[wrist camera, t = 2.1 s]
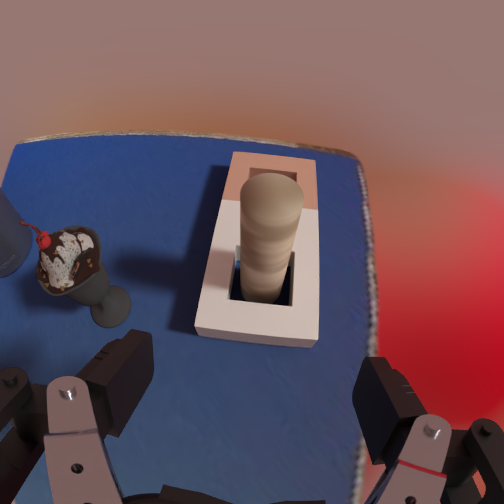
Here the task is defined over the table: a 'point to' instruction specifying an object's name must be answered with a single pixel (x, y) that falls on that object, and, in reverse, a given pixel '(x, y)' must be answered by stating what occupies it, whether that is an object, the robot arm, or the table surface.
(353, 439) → the table surface
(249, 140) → the table surface
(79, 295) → the sundae
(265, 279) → the peg
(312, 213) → the dock board
